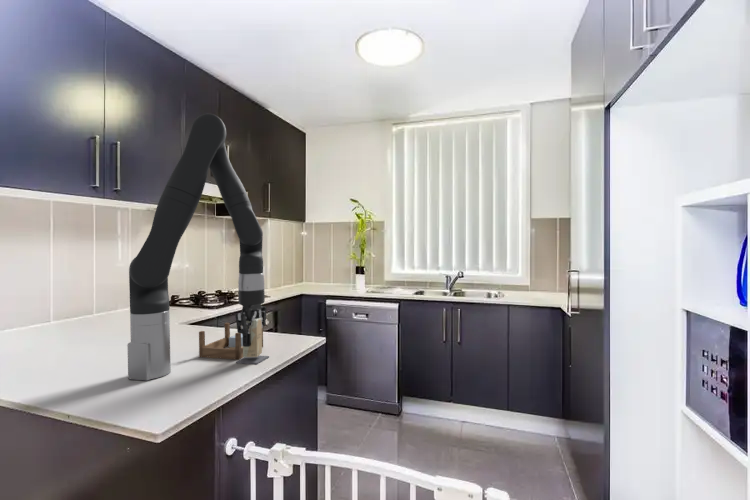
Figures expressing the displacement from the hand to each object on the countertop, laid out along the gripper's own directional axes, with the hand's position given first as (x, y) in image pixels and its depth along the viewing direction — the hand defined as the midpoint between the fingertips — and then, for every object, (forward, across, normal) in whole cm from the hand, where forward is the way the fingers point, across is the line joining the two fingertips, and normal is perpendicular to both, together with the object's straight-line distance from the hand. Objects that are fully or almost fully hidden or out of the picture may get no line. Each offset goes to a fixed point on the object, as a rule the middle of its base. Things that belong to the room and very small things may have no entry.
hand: (252, 343), depth 115 cm
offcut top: (+2, +6, +8) cm, 10 cm away
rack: (+5, +7, +11) cm, 14 cm away
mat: (+5, 0, 0) cm, 5 cm away
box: (+4, 0, 0) cm, 4 cm away
